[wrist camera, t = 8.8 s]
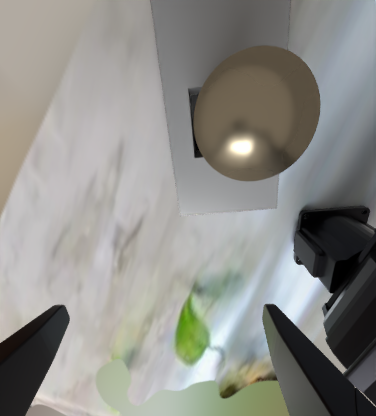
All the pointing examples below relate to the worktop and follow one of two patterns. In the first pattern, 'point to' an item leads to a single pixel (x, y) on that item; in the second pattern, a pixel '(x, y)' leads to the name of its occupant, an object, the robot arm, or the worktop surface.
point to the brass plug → (256, 113)
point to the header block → (193, 81)
